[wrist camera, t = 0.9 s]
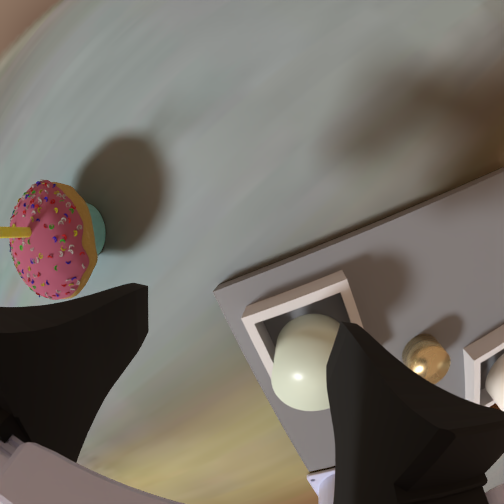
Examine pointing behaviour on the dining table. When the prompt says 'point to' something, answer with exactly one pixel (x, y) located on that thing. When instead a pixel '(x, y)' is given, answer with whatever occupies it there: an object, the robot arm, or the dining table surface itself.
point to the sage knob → (304, 361)
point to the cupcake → (54, 239)
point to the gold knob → (426, 357)
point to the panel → (386, 297)
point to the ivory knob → (496, 382)
